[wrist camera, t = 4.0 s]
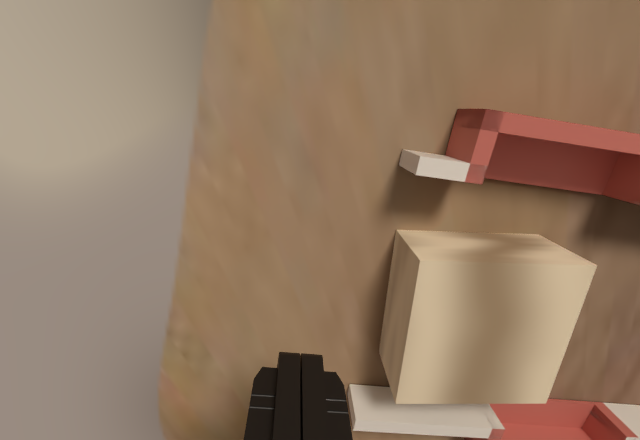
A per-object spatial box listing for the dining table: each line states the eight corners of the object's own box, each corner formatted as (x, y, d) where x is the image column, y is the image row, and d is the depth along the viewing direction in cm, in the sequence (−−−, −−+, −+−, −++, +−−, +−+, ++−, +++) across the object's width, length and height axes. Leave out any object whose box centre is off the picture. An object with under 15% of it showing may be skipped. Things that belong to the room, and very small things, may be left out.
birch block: (535, 232, 18) (597, 265, 14) (501, 349, 21) (545, 403, 17) (394, 227, 17) (420, 260, 14) (377, 348, 20) (395, 403, 16)
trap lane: (899, 181, 18) (1116, 207, 13) (708, 442, 24) (808, 523, 19) (413, 101, 15) (464, 98, 10) (341, 419, 21) (352, 507, 17)
